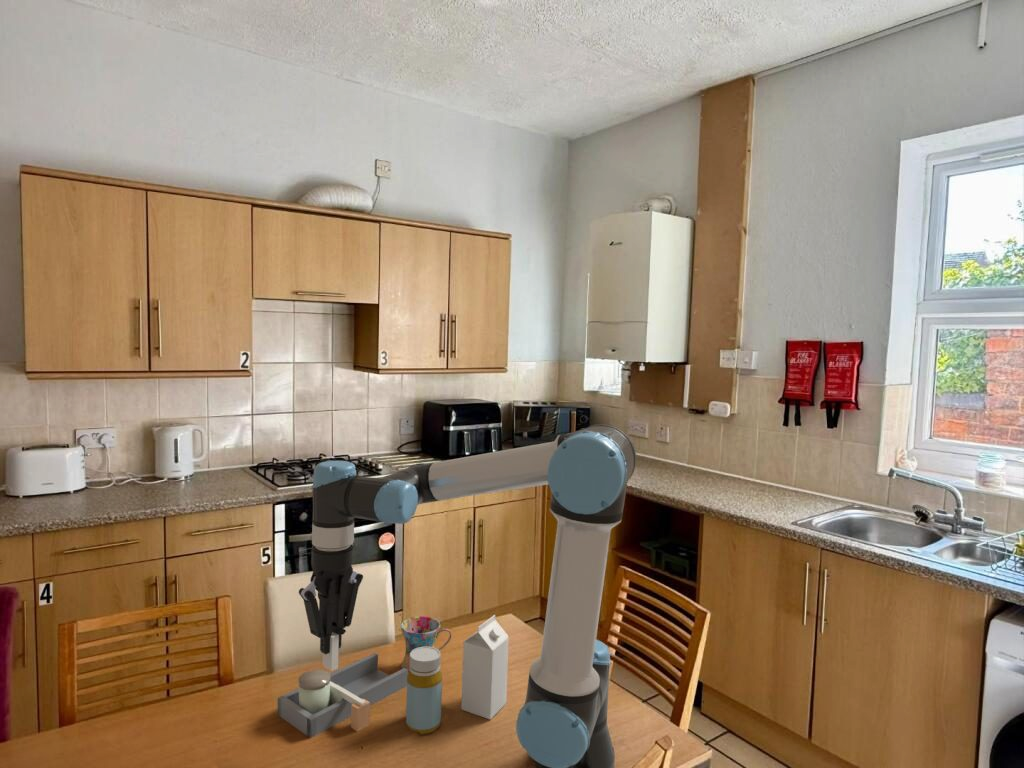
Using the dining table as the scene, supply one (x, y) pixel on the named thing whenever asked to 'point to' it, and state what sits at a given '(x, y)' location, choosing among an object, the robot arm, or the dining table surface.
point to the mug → (420, 635)
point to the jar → (314, 690)
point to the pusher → (352, 706)
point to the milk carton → (485, 670)
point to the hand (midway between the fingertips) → (330, 667)
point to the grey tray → (355, 679)
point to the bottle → (424, 690)
